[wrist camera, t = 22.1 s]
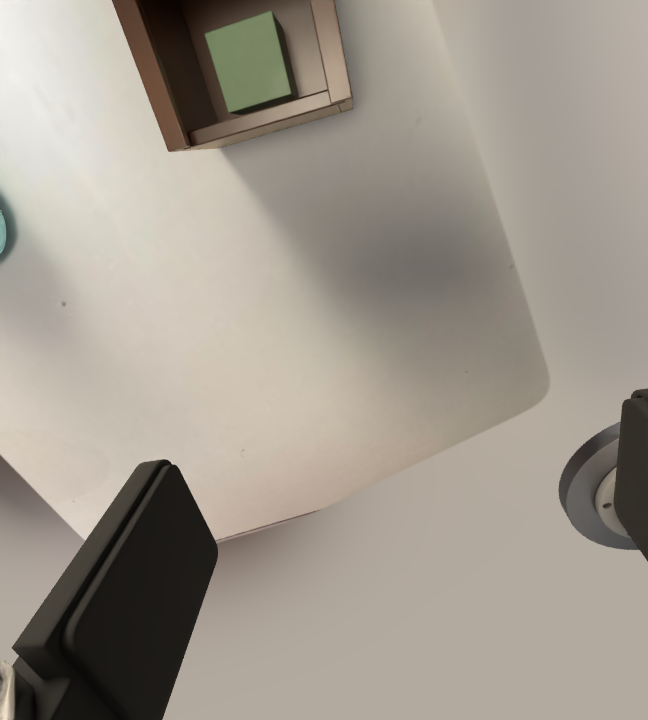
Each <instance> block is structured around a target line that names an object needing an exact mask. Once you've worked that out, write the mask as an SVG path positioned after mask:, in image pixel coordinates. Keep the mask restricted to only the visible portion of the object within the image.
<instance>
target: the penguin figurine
mask: <svg viewBox="0 0 648 720" xmlns="http://www.w3.org/2000/svg"><path fill="white" fill-rule="evenodd" d="M5 243H6V227H5V220H4V217H3V215H2V212H1V210H0V254H1V252H2V251H3V249H4V247H5Z"/></svg>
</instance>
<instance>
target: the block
mask: <svg viewBox="0 0 648 720" xmlns="http://www.w3.org/2000/svg"><path fill="white" fill-rule="evenodd" d="M205 38H206V41H207V44H208V48H209V51H210V54H211V57H212V61H213V64H214V67H215V70H216V74H217V77H218V80H219V84H220V87H221V90H222V93H223V97H224V100H225V103H226V107H227V110H228V113H231V114H237V115H244V114H247V113H250V112H254V111H257V110H260V109H264V108H267V107H270V106H274V105H277V104H280V103H284V102H287V101H290V100H293V99H297V98H299V95H298V91H297V87H296V82H295V78H294V74H293V70H292V65H291V61H290V57H289V53H288V48H287V44H286V40H285V36H284V31H283V28H282V26H281V25H280V23H279V21H278V20H277V18H276V17H275V15H274V14H273V12H272V11H268V12H265V13H262V14H259V15H256V16H253V17H250V18H247V19H244V20H241V21H239V22H236V23H233V24H230V25H227V26H224V27H221V28H218V29H215V30H212V31H209V32H207V33H205Z"/></svg>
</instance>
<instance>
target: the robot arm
mask: <svg viewBox="0 0 648 720" xmlns="http://www.w3.org/2000/svg"><path fill="white" fill-rule="evenodd" d="M595 507H596V511H597V513H598V515H599V517H600V518H601V520H602V521H603V523H604V524H605V526H607V527H608V528H609V529H610V530H611V531H613V532H615V533H617V534H619V535H621V536H624V537H627V538H632V539H633V541H634V542H635V544H636V545H637V547H638V548H639V549H640V551H641V552H642V554H643V555H644V556H645V558H646V560H647V561H648V389H641V390H636V391H634V392H633V394H632V395H631V399H627V400H625V401H624V402H623V405H622V414H621V425H620V437H619V448H618V459H617V467H616V468H614V469H613V470H612V471H611V472H610V473H609V474H608V475H607V476H606V477H605V478H604V480H603V481H602V483H601V484H600V486H599V488H598V490H597V493H596V497H595ZM217 558H218V548H217V544H216V542H215V540H214V538H213V536H212V534H211V532H210V530H209V528H208V526H207V524H206V522H205V520H204V518H203V516H202V514H201V512H200V510H199V508H198V506H197V504H196V502H195V500H194V498H193V496H192V494H191V492H190V490H189V488H188V486H187V484H186V482H185V480H184V478H183V476H182V474H181V472H180V470H179V468H178V467H177V466H176V465H172V464H171V462H170V461H168V460H165V459H163V460H157V461H150V462H143V463H141V464H139V465H138V466H137V467H136V469H135V470H134V472H133V473H132V475H131V476H130V478H129V479H128V480H127V482H126V483H125V485H124V486H123V488H122V489H121V491H120V492H119V493H118V495H117V496H116V498H115V499H114V501H113V502H112V504H111V505H110V506H109V508H108V509H107V511H106V512H105V514H104V515H103V517H102V518H101V519H100V521H99V522H98V524H97V525H96V527H95V528H94V530H93V531H92V532H91V534H90V535H89V537H88V538H87V540H86V541H85V543H84V544H83V545H82V547H81V548H80V550H79V551H78V553H77V554H76V556H75V557H74V559H73V560H72V562H71V563H70V564H69V566H68V567H67V569H66V570H65V572H64V573H63V575H62V576H61V577H60V579H59V580H58V582H57V583H56V585H55V586H54V587H53V589H52V590H51V592H50V593H49V595H48V596H47V598H46V599H45V600H44V602H43V603H42V605H41V606H40V608H39V609H38V611H37V612H36V613H35V615H34V616H33V618H32V619H31V621H30V622H29V624H28V625H27V627H26V628H25V629H24V631H23V632H22V634H21V635H20V637H19V638H18V640H17V641H16V642H15V644H14V645H13V647H12V649H13V650H14V651H15V652H16V653H17V654H18V655H19V657H18V658H17V660H16V661H15V663H14V664H13V666H11V665H10V664H9V663H7V662H6V661H2V660H0V720H162V719H163V716H164V713H165V710H166V707H167V704H168V701H169V698H170V696H171V693H172V690H173V687H174V684H175V681H176V678H177V675H178V672H179V670H180V667H181V664H182V660H183V658H184V655H185V651H186V649H187V646H188V643H189V640H190V638H191V635H192V632H193V629H194V626H195V623H196V620H197V617H198V614H199V611H200V608H201V606H202V602H203V599H204V597H205V594H206V591H207V588H208V585H209V582H210V579H211V576H212V574H213V570H214V568H215V565H216V562H217Z"/></svg>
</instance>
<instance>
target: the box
mask: <svg viewBox="0 0 648 720" xmlns="http://www.w3.org/2000/svg"><path fill="white" fill-rule="evenodd" d="M112 2H113V4H114V7H115V10H116V12H117V15H118V18H119V20H120V23H121V26H122V28H123V31H124V34H125V36H126V39H127V42H128V45H129V47H130V50H131V53H132V55H133V58H134V61H135V63H136V66H137V69H138V71H139V74H140V77H141V79H142V82H143V85H144V87H145V90H146V93H147V95H148V98H149V101H150V103H151V106H152V109H153V111H154V114H155V117H156V119H157V122H158V125H159V127H160V130H161V133H162V135H163V138H164V141H165V143H166V146H167V149H168V151H169V152H175V151H188V150H200V149H213V148H220V147H224V146H227V145H231V144H234V143H238V142H241V141H244V140H248V139H251V138H255V137H258V136H262V135H265V134H268V133H272V132H275V131H279V130H282V129H286V128H289V127H292V126H296V125H299V124H303V123H306V122H310V121H313V120H316V119H320V118H323V117H327V116H330V115H334V114H337V113H341V112H344V111H347V110H351V109H353V107H352V92H351V87H350V82H349V76H348V71H347V65H346V60H345V55H344V49H343V44H342V38H341V33H340V28H339V22H338V17H337V12H336V6H335V1H334V0H112ZM268 11H272V12H273V14H274V15H275V17H276V18H277V20H278V21H279V23H280V25H281V26H282V28H283V31H284V36H285V40H286V44H287V48H288V53H289V57H290V61H291V65H292V70H293V74H294V78H295V82H296V87H297V91H298V95H299V98H297V99H293V100H290V101H287V102H284V103H280V104H277V105H274V106H270V107H267V108H264V109H260V110H257V111H254V112H250V113H247V114H244V115H237V114H231V113H228V110H227V107H226V103H225V100H224V97H223V93H222V90H221V87H220V84H219V80H218V77H217V74H216V70H215V67H214V64H213V61H212V57H211V54H210V51H209V48H208V44H207V41H206V38H205V33H207V32H209V31H212V30H215V29H218V28H221V27H224V26H227V25H230V24H233V23H236V22H239V21H241V20H244V19H247V18H250V17H253V16H256V15H259V14H262V13H265V12H268Z"/></svg>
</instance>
